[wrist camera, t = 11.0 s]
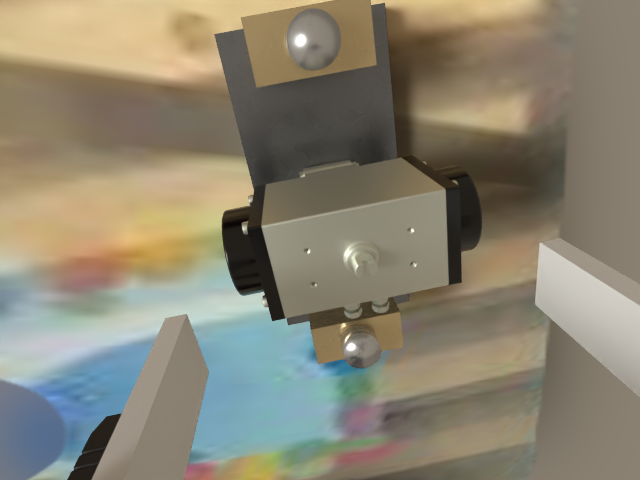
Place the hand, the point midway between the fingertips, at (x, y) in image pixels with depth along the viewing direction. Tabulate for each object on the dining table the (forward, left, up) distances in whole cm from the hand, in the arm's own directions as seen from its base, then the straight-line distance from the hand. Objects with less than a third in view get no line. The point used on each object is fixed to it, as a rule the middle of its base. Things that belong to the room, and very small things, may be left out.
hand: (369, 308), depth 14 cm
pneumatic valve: (0, 0, -14) cm, 14 cm away
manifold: (0, 0, -15) cm, 15 cm away
